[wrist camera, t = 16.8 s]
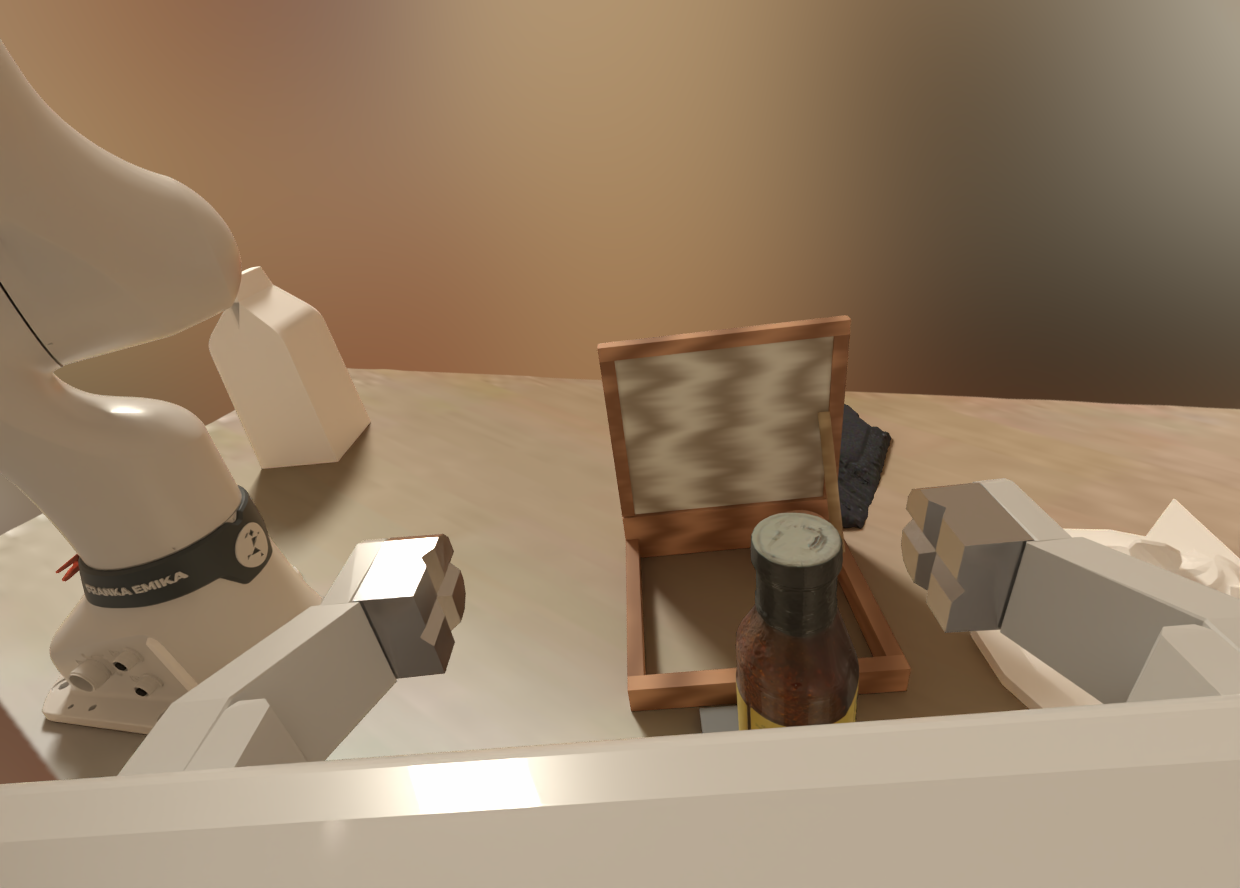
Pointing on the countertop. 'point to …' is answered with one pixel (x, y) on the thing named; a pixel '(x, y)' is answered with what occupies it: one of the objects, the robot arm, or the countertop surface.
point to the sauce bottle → (795, 630)
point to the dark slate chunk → (859, 466)
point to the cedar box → (730, 469)
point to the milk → (285, 377)
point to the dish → (1167, 546)
